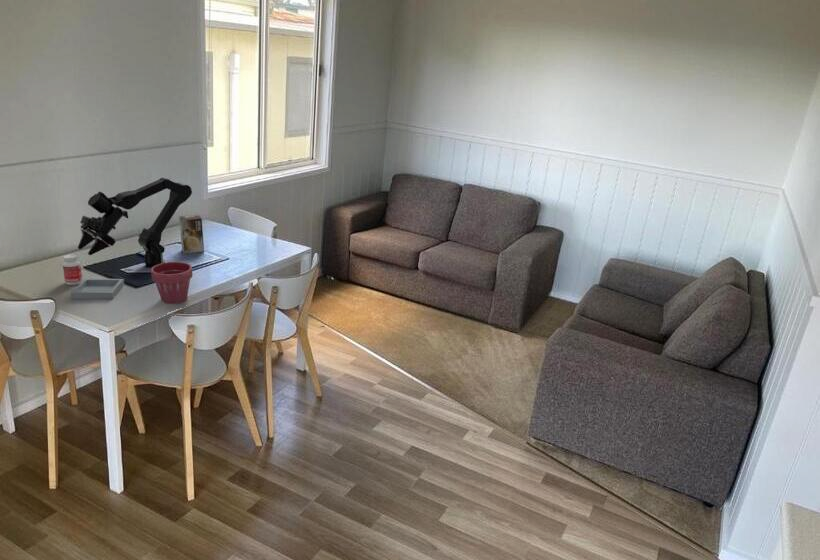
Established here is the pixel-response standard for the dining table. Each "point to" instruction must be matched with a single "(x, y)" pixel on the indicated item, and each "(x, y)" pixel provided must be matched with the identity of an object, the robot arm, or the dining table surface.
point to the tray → (97, 289)
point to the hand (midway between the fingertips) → (83, 251)
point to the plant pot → (172, 281)
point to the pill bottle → (72, 270)
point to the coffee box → (191, 234)
